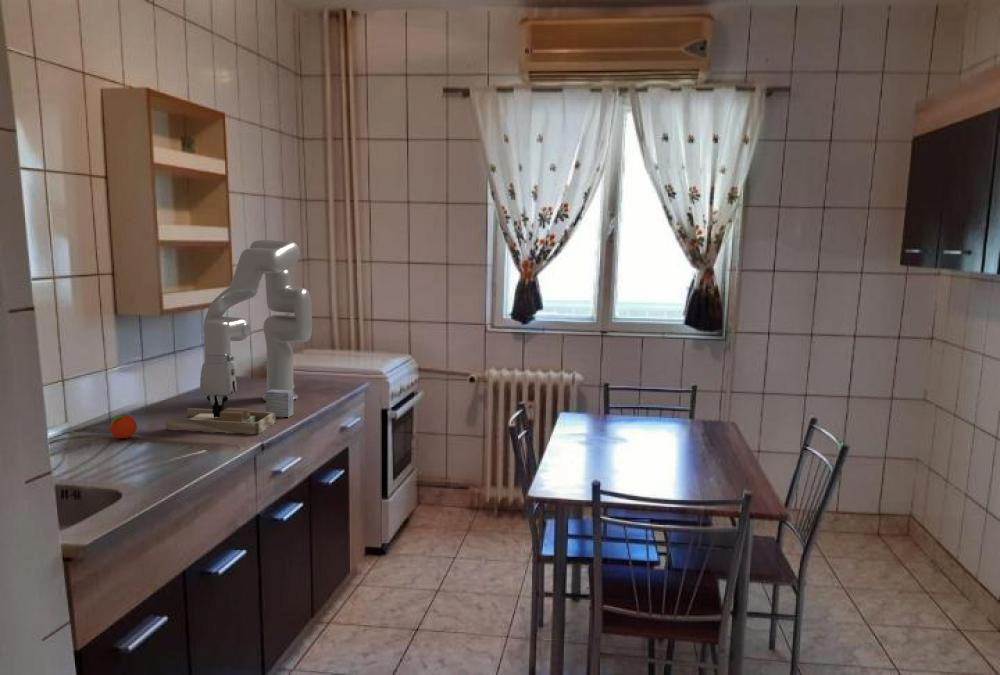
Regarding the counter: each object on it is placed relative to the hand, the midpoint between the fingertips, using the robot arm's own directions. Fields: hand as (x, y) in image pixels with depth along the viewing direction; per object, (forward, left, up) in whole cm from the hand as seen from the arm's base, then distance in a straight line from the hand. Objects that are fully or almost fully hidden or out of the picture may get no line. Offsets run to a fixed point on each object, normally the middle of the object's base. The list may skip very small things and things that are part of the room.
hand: (218, 416), depth 213 cm
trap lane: (0, +1, -3) cm, 4 cm away
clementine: (+18, -20, -4) cm, 27 cm away
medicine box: (-16, +14, -4) cm, 21 cm away
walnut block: (0, +6, -1) cm, 6 cm away
